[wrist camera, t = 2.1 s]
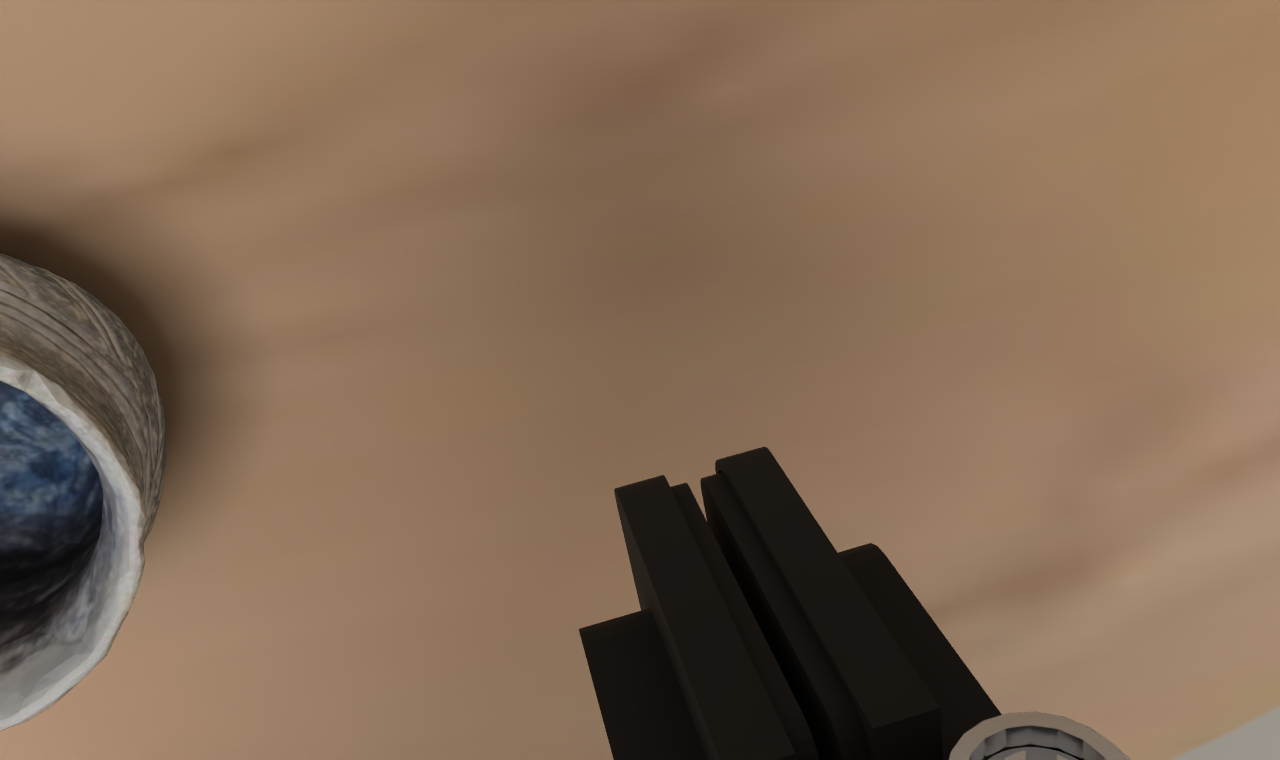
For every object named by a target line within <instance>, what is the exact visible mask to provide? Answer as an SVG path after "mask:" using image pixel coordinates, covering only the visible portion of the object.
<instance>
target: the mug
mask: <svg viewBox="0 0 1280 760" xmlns="http://www.w3.org/2000/svg"><path fill="white" fill-rule="evenodd" d="M165 460H166V429H165V415H164V411H163V407H162V402H161V398H160V393H159V389H158V385H157V380H156V376H155V375H154V373H153V371H152V369H151V367H150V365H149V363H148V361H147V358H146V356H145V354H144V352H143V350H142V348H141V347H140V345H139V344H138V342H137V341H136V339H135V338H134V336H133V335H132V333H131V332H130V331H129V330H128V328H127V327H126V326H125V325H124V324H123V322H122V321H121V320H120V319H119V318H118V316H117V315H115V314H114V313H113V312H112V311H111V310H110V309H108V308H107V307H106V306H105V305H104V304H102V303H101V302H100V301H99V300H98V299H97V298H95V297H94V296H93V295H91V294H90V293H88V292H87V291H85V290H84V289H82V288H81V287H79V286H78V285H76V284H74V283H72V282H70V281H68V280H66V279H64V278H62V277H60V276H58V275H56V274H54V273H52V272H50V271H48V270H46V269H44V268H40V267H35V266H32V265H30V264H28V263H26V262H24V261H22V260H19V259H16V258H13V257H10V256H7V255H4V254H1V253H0V731H2V730H4V729H7V728H10V727H13V726H15V725H18V724H21V723H24V722H26V721H29V720H30V719H32V718H33V717H35V716H37V715H38V714H40V713H41V712H43V711H45V710H46V709H48V708H49V707H51V706H53V705H54V704H55V703H56V702H57V701H59V700H60V699H61V698H62V697H63V696H64V695H65V694H66V693H68V692H69V691H70V690H71V689H72V688H73V687H74V686H76V685H77V684H78V683H79V682H80V681H81V680H82V679H84V678H85V677H86V676H87V675H88V674H89V673H90V672H91V671H92V670H93V669H94V668H95V667H96V666H97V665H98V664H99V663H100V662H101V661H102V660H103V659H104V658H105V657H106V656H107V654H108V652H109V649H110V647H111V645H112V643H113V641H114V639H115V637H116V634H117V632H118V630H119V629H120V627H121V625H122V623H123V621H124V620H125V618H126V616H127V614H128V612H129V609H130V607H131V604H132V602H133V599H134V597H135V594H136V592H137V589H138V587H139V584H140V580H141V576H142V572H143V568H144V563H145V557H144V541H145V540H146V538H147V536H148V534H149V533H150V531H151V529H152V526H153V523H154V520H155V517H156V513H157V510H158V506H159V502H160V499H161V495H162V489H163V480H164V472H165Z"/></svg>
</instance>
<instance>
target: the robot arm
mask: <svg viewBox="0 0 1280 760" xmlns="http://www.w3.org/2000/svg"><path fill="white" fill-rule="evenodd" d="M715 470H716V474H715V475H712V476H708V477H705V478H701V490H702V496H703V501H704V507H705V512H706V518H707V521H706V519H705V517H704V515H703V513H702V511H701V509H700V507H699V505H698V503H697V501H696V499H695V497H694V495H693V493H692V491H691V489H690V487H689V486H688V484H687V483H683V484H680V485H676V486H673V487H670V486H669V484H668V481H667V480H666V478H665V476H663V475H662V476H658V477H655V478H651V479H647V480H644V481H640V482H637V483H633V484H630V485H626V486H622V487H619V488H615V498H616V502H617V507H618V511H619V516H620V520H621V524H622V529H623V533H624V537H625V542H626V546H627V550H628V555H629V559H630V563H631V568H632V572H633V577H634V581H635V585H636V590H637V594H638V598H639V603H640V607H641V611H639V612H635V613H632V614H628V615H625V616H622V617H618V618H615V619H611V620H608V621H605V622H601V623H598V624H594V625H591V626H588V627H584V628H581V629H579V632H580V636H581V639H582V643H583V647H584V650H585V654H586V658H587V662H588V665H589V669H590V673H591V677H592V680H593V684H594V688H595V691H596V695H597V699H598V703H599V706H600V710H601V714H602V717H603V721H604V725H605V729H606V732H607V736H608V740H609V744H610V747H611V751H612V755H613V758H614V760H1131V759H1130V758H1129V757H1127V756H1126V755H1125V754H1124V753H1123V752H1122V751H1121V750H1120V749H1119V748H1118V747H1117V746H1116V745H1114V744H1113V743H1112V742H1110V741H1109V740H1108V739H1106V738H1105V737H1103V736H1102V735H1100V734H1099V733H1098V732H1096V731H1095V730H1093V729H1092V728H1091V727H1088V726H1086V725H1083V724H1081V723H1078V722H1076V721H1073V720H1071V719H1068V718H1066V717H1063V716H1057V715H1052V714H1046V713H1040V712H1020V713H1007V714H1003V715H1002V714H1001V713H1000V712H999V710H998V709H997V707H996V706H995V705H994V703H993V702H992V701H991V699H990V698H989V697H988V695H987V694H986V692H985V691H984V690H983V688H982V687H981V686H980V684H979V683H978V681H977V680H976V679H975V677H974V676H973V675H972V673H971V672H970V670H969V669H968V668H967V666H966V665H965V664H964V662H963V661H962V660H961V658H960V657H959V655H958V654H957V653H956V651H955V650H954V649H953V647H952V646H951V644H950V643H949V642H948V640H947V639H946V638H945V636H944V635H943V633H942V632H941V631H940V629H939V628H938V627H937V625H936V624H935V622H934V621H933V620H932V618H931V617H930V616H929V614H928V613H927V612H926V610H925V609H924V607H923V606H922V605H921V603H920V602H919V601H918V599H917V598H916V596H915V595H914V594H913V592H912V591H911V590H910V588H909V587H908V585H907V584H906V583H905V581H904V580H903V579H902V577H901V576H900V575H899V573H898V572H897V570H896V569H895V568H894V566H893V565H892V564H891V562H890V561H889V559H888V558H887V557H886V555H885V554H884V553H883V552H882V551H881V550H880V549H879V547H878V546H876V545H874V544H872V543H869V544H866V545H863V546H859V547H856V548H852V549H849V550H846V551H842V552H839V553H837V551H836V550H835V548H834V547H833V545H832V544H831V542H830V541H829V539H828V538H827V536H826V535H825V533H824V532H823V530H822V529H821V527H820V526H819V524H818V523H817V521H816V520H815V518H814V517H813V515H812V514H811V512H810V511H809V509H808V508H807V506H806V505H805V503H804V502H803V500H802V499H801V497H800V496H799V494H798V493H797V491H796V490H795V488H794V487H793V485H792V484H791V482H790V481H789V479H788V478H787V476H786V475H785V473H784V472H783V470H782V468H781V467H780V465H779V464H778V462H777V461H776V459H775V458H774V456H773V455H772V453H771V452H770V451H769V450H768V448H766V447H762V448H758V449H754V450H751V451H747V452H744V453H740V454H737V455H733V456H730V457H726V458H722V459H719V460H717V461H716V463H715Z"/></svg>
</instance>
